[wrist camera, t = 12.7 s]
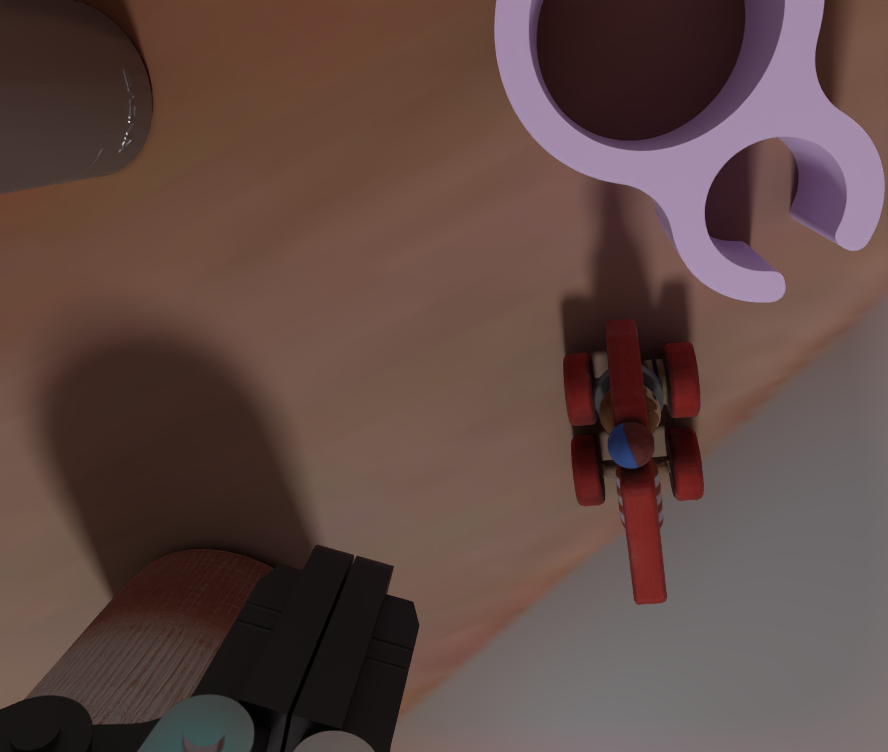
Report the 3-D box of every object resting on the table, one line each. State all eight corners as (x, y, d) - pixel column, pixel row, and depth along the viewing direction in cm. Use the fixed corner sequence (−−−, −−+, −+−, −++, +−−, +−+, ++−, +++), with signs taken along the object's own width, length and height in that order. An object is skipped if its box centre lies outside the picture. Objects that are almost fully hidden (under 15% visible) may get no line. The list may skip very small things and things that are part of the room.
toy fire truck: (686, 299, 38) (723, 368, 29) (696, 497, 42) (731, 614, 33) (557, 314, 40) (552, 384, 30) (579, 503, 44) (581, 617, 34)
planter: (85, 568, 53) (-96, 745, 39) (286, 514, 48) (163, 695, 34) (195, 740, 58) (71, 954, 44) (386, 708, 53) (317, 937, 39)
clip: (896, 165, 34) (969, 182, 28) (670, 311, 39) (689, 354, 32) (665, -214, 30) (689, -294, 24) (444, -3, 35) (415, -24, 28)
